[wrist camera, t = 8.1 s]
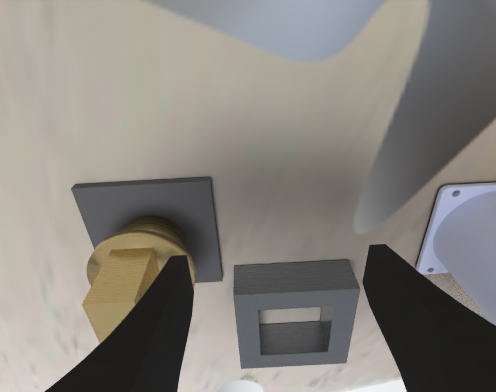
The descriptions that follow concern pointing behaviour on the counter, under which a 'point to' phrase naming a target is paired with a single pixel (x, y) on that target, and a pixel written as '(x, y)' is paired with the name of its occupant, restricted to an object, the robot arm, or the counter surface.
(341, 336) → the housing
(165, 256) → the end cover
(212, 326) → the counter surface
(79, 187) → the mat
